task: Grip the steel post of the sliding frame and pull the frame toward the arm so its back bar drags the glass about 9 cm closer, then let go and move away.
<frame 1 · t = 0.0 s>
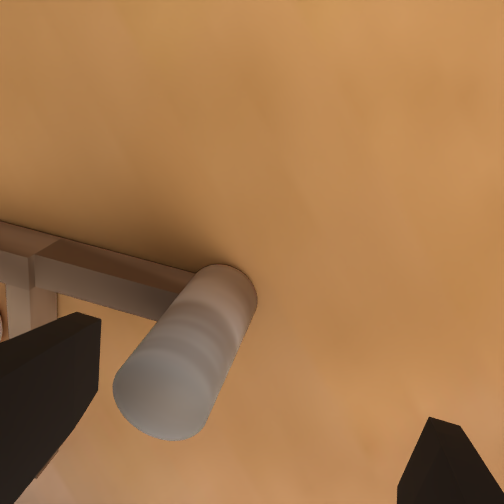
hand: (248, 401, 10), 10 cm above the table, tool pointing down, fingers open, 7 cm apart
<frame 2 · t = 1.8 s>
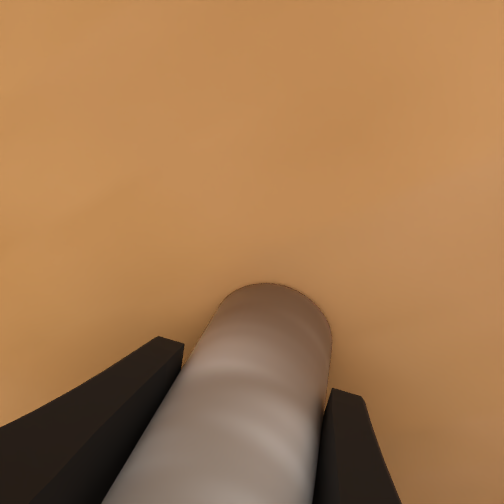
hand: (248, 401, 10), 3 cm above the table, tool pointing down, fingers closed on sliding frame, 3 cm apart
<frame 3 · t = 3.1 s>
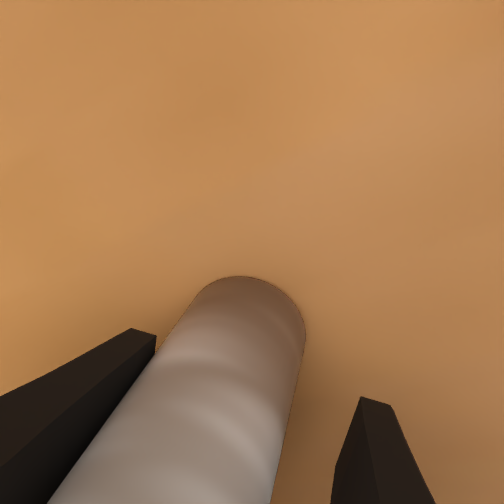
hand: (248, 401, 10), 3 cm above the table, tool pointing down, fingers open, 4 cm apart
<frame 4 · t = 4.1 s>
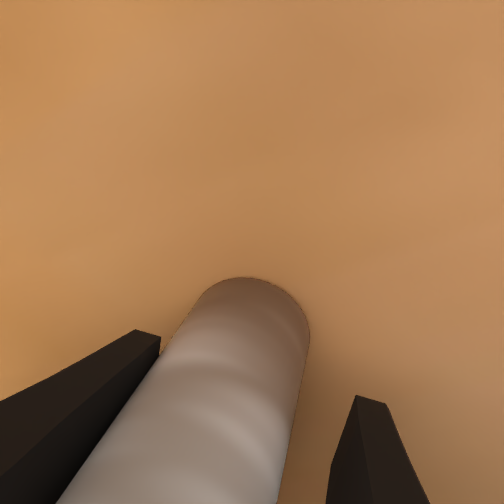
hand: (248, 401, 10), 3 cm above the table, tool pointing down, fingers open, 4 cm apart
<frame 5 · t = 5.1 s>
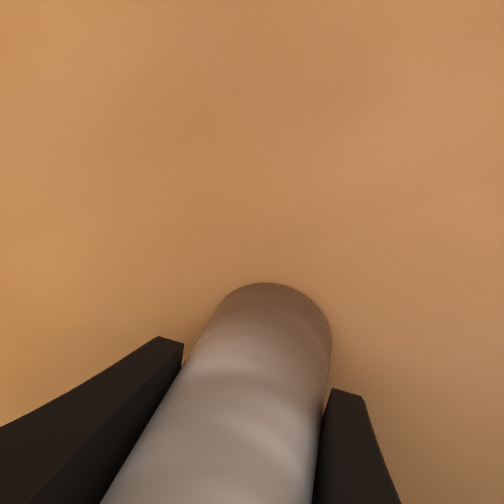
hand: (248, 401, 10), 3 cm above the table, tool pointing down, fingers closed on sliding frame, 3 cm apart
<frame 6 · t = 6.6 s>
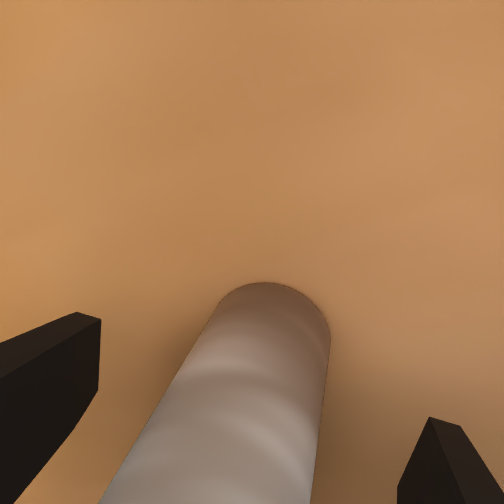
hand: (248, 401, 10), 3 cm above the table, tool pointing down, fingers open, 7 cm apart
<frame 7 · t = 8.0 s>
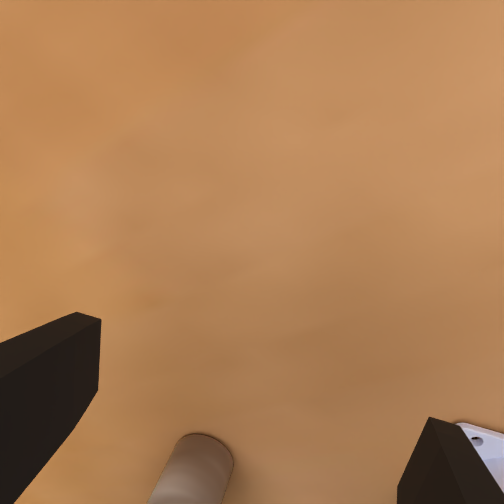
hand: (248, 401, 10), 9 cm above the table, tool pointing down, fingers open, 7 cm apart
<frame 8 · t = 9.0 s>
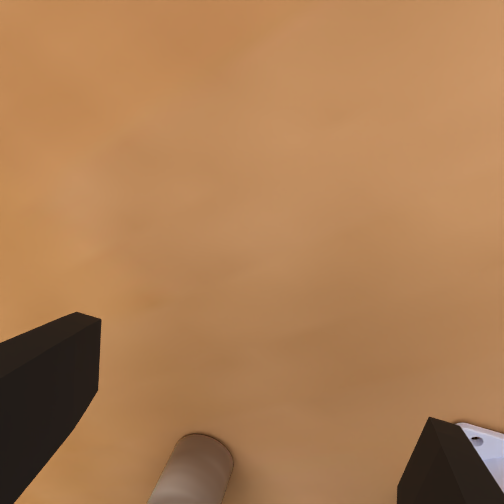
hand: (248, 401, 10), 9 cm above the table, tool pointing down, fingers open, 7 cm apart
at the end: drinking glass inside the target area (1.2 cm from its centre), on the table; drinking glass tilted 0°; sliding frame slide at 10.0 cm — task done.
